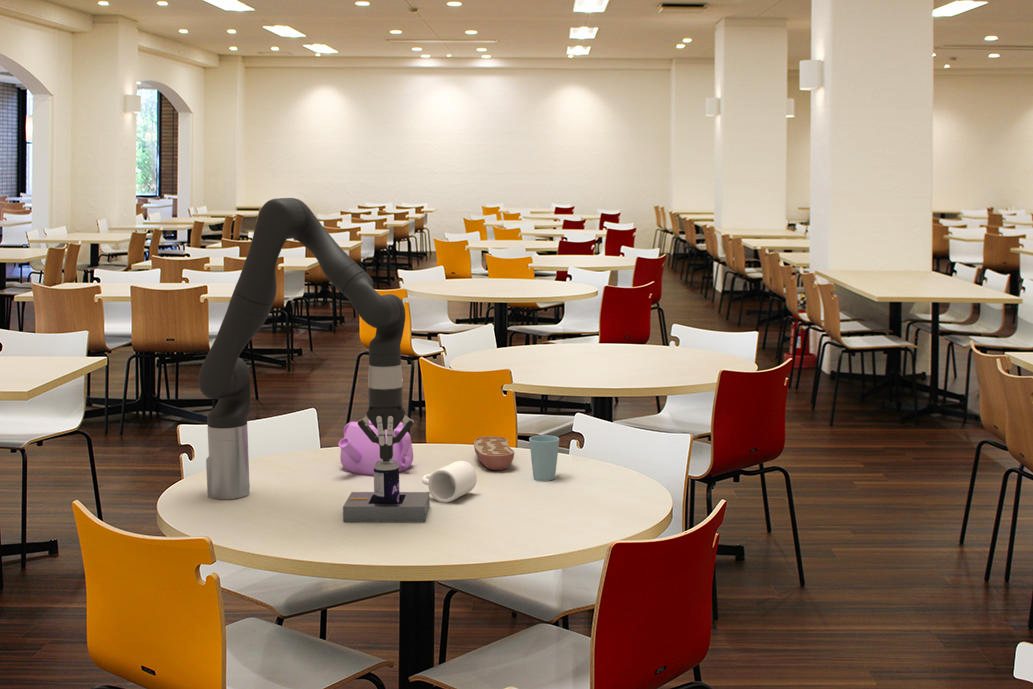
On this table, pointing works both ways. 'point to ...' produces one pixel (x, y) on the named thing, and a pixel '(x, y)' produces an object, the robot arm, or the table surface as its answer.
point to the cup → (544, 456)
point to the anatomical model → (494, 452)
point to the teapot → (371, 450)
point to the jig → (386, 508)
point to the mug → (451, 481)
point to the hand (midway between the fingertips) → (386, 460)
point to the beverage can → (386, 483)
